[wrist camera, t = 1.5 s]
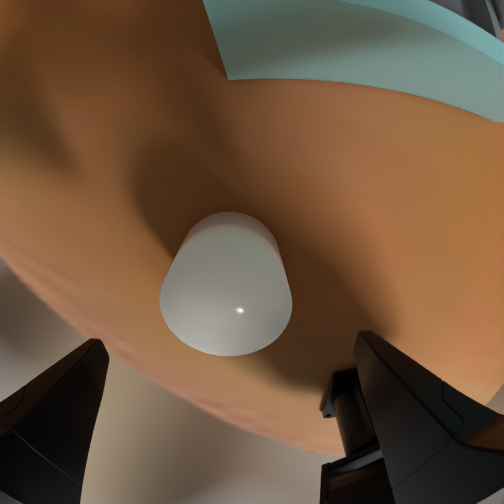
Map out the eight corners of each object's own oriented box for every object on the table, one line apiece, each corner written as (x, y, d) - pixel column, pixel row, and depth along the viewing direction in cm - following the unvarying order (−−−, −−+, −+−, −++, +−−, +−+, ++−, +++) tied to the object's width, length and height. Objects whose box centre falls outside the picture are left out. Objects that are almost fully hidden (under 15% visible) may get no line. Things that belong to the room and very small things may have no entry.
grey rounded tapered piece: (279, 297, 16) (289, 352, 11) (189, 301, 16) (174, 356, 11) (278, 208, 13) (293, 244, 9) (174, 215, 13) (146, 252, 9)
